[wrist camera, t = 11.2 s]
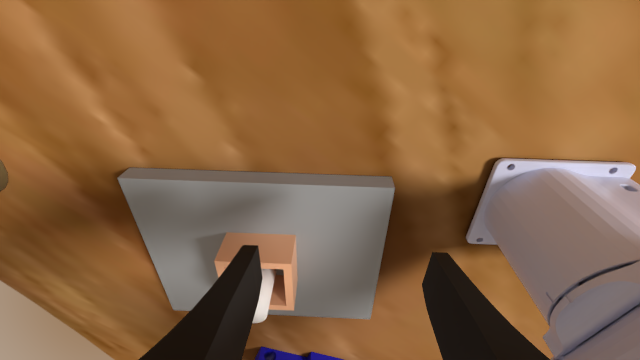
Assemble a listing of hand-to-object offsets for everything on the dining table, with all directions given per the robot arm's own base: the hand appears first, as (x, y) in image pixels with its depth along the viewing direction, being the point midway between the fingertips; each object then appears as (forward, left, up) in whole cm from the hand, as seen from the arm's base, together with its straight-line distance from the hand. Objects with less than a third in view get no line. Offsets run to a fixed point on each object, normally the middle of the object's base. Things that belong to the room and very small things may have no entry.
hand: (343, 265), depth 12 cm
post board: (+6, +10, -10) cm, 16 cm away
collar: (+6, +10, -9) cm, 14 cm away
